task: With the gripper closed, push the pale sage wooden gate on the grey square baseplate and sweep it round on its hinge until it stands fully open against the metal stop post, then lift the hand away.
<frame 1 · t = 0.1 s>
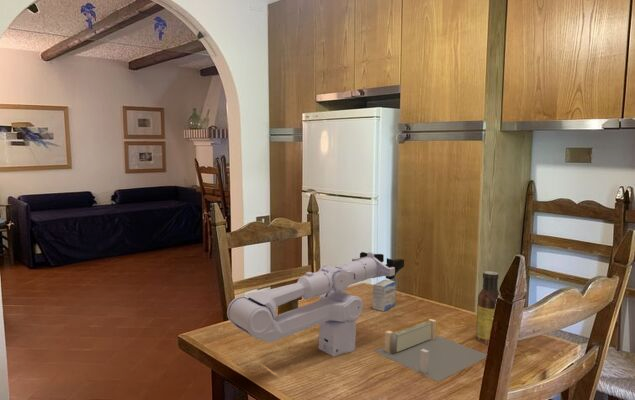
hand: (392, 260, 132), 22 cm above the table, tool horizontal, fingers open, 7 cm apart
condiment: (288, 327, 137), on the table
gate: (411, 336, 123), point 3 cm above the table, hinge at 0.0°
grey square baseplate: (431, 356, 119), on the table
medicine box: (383, 308, 156), on the table
sauce bottle: (487, 342, 129), on the table
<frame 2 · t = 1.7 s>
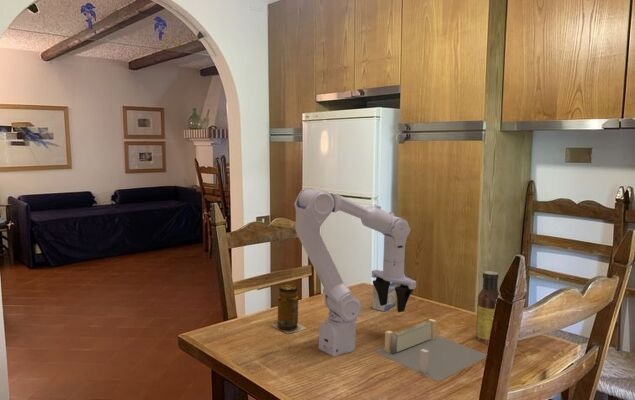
hand: (392, 308, 128), 9 cm above the table, tool pointing down, fingers open, 6 cm apart
nothing on the table moved.
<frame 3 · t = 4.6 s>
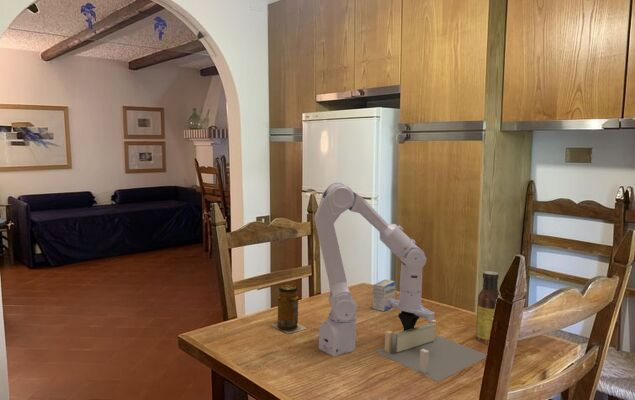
hand: (408, 338, 124), 3 cm above the table, tool pointing down, fingers closed, pressing on gate
gate: (413, 337, 122), point 3 cm above the table, hinge at 5.0°, touching gripper
everything else where it was.
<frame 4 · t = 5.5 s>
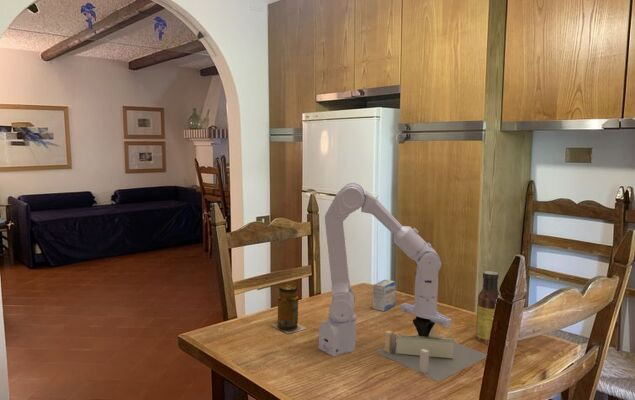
hand: (423, 345, 120), 3 cm above the table, tool pointing down, fingers closed
gate: (422, 346, 117), point 3 cm above the table, hinge at 48.6°, touching gripper
everything else where it was.
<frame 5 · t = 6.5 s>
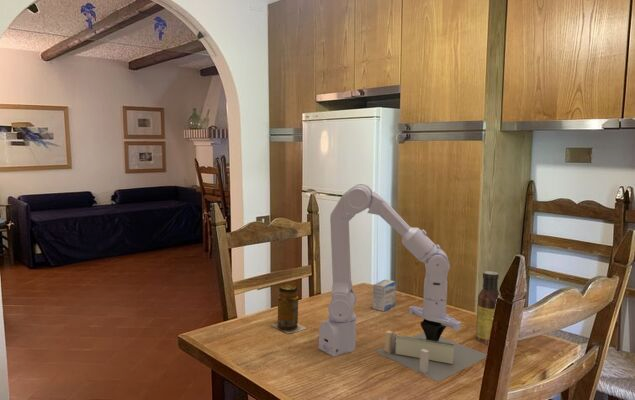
hand: (432, 348, 118), 3 cm above the table, tool pointing down, fingers closed
gate: (421, 348, 116), point 3 cm above the table, hinge at 61.0°, touching gripper
everything else where it was.
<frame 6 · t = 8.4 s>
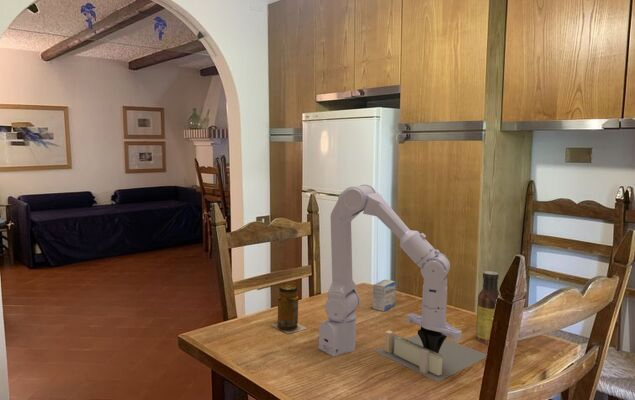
hand: (431, 359, 112), 3 cm above the table, tool pointing down, fingers closed, pressing on gate
gate: (415, 353, 113), point 3 cm above the table, hinge at 92.2°, touching grey square baseplate, gripper
everything else where it was.
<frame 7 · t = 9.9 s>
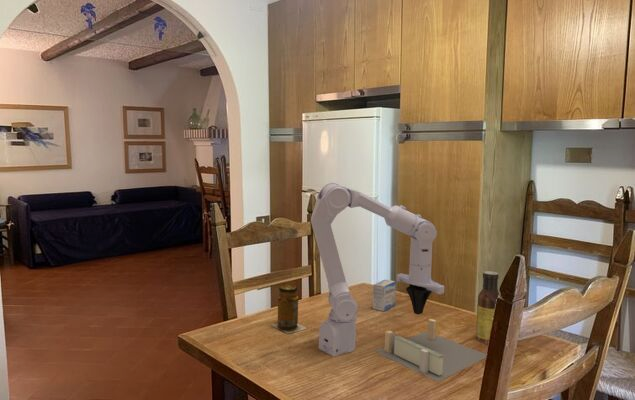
hand: (418, 313, 124), 9 cm above the table, tool pointing down, fingers closed
gate: (415, 353, 113), point 3 cm above the table, hinge at 91.4°
everything else where it was.
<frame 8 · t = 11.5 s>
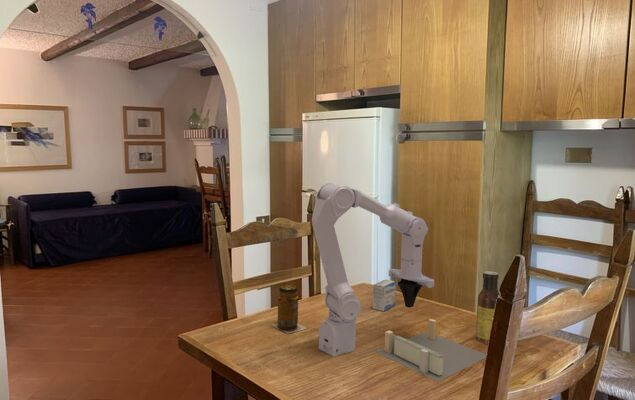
hand: (409, 306, 129), 9 cm above the table, tool pointing down, fingers closed
nothing on the table moved.
at the end: gate at +91° (first picture: +0°) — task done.
